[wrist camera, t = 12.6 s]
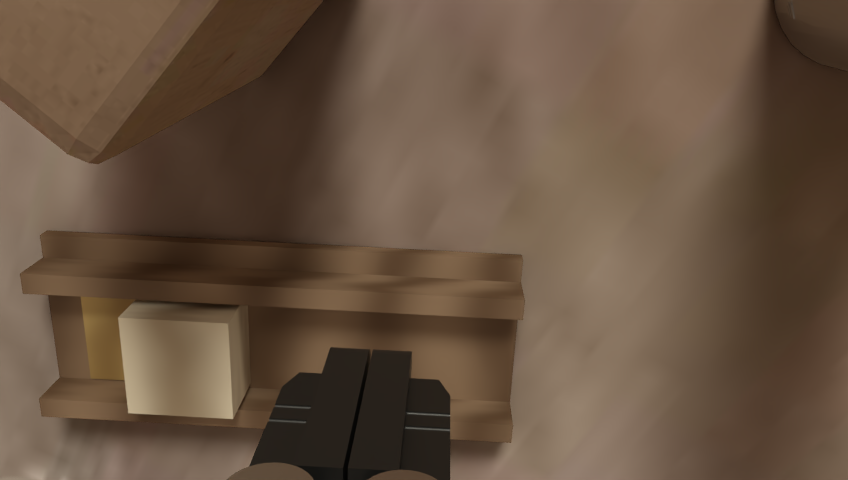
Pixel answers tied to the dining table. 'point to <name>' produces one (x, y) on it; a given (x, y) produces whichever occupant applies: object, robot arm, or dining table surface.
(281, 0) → the wooden block
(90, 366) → the chute
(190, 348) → the birch block
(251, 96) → the dining table surface
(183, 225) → the dining table surface
